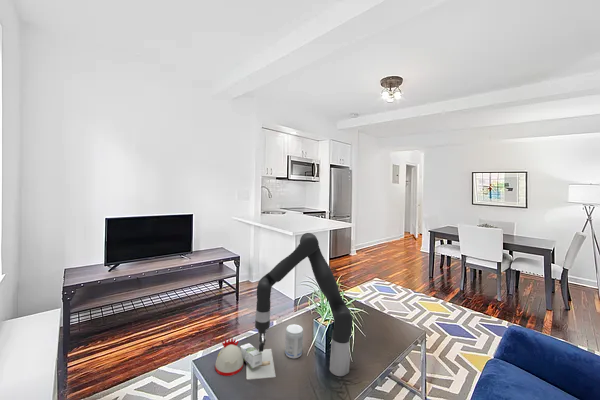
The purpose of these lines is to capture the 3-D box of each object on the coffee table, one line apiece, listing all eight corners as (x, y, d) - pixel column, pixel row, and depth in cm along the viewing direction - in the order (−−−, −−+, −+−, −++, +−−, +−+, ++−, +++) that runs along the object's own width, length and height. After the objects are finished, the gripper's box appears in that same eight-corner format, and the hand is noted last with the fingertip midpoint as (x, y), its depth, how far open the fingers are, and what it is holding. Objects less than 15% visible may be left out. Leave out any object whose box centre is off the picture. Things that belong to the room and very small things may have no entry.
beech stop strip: (269, 363, 141) (269, 361, 141) (269, 365, 140) (270, 362, 140) (250, 364, 139) (250, 362, 139) (250, 366, 138) (250, 364, 138)
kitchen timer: (214, 360, 142) (215, 332, 141) (240, 355, 147) (241, 328, 146) (216, 378, 129) (217, 348, 128) (245, 372, 134) (246, 343, 133)
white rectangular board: (271, 349, 154) (271, 348, 154) (275, 377, 132) (275, 376, 132) (246, 351, 151) (246, 350, 151) (246, 379, 129) (246, 379, 129)
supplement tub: (298, 347, 157) (300, 323, 156) (304, 357, 148) (306, 331, 147) (282, 349, 154) (284, 325, 153) (287, 360, 145) (289, 334, 144)
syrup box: (262, 365, 137) (248, 353, 149) (262, 352, 138) (249, 342, 149) (252, 368, 134) (239, 356, 145) (252, 356, 134) (239, 345, 146)
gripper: (271, 324, 131) (269, 358, 132) (269, 311, 144) (267, 342, 145) (255, 325, 130) (254, 359, 131) (254, 312, 142) (253, 343, 144)
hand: (261, 350), depth 138 cm, fingers closed
